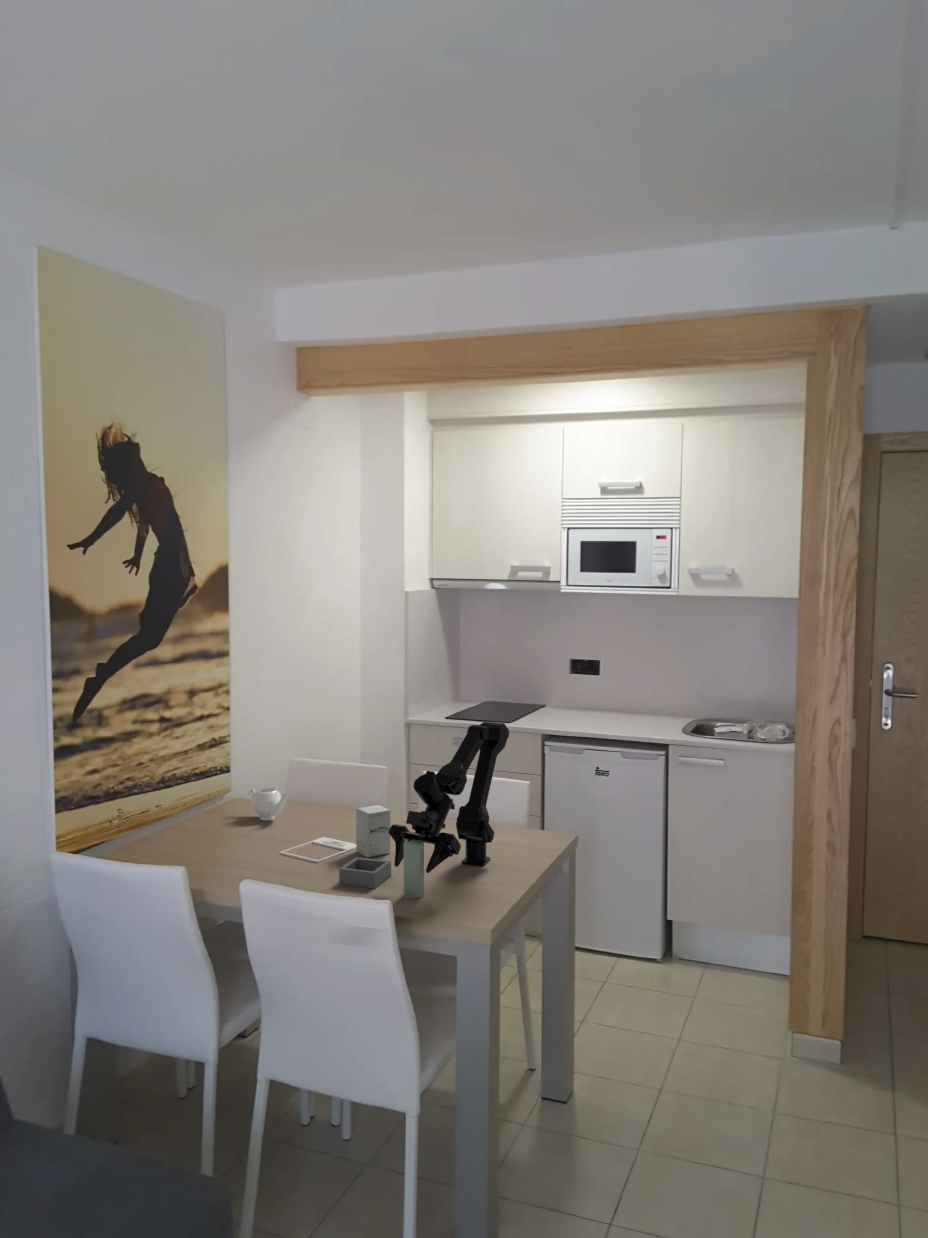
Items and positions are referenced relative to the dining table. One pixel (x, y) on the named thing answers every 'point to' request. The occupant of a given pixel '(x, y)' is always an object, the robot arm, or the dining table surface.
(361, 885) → the gray square tray
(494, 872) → the dining table surface
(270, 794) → the teapot
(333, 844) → the photo frame
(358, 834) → the supplement box
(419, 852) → the sage peg
